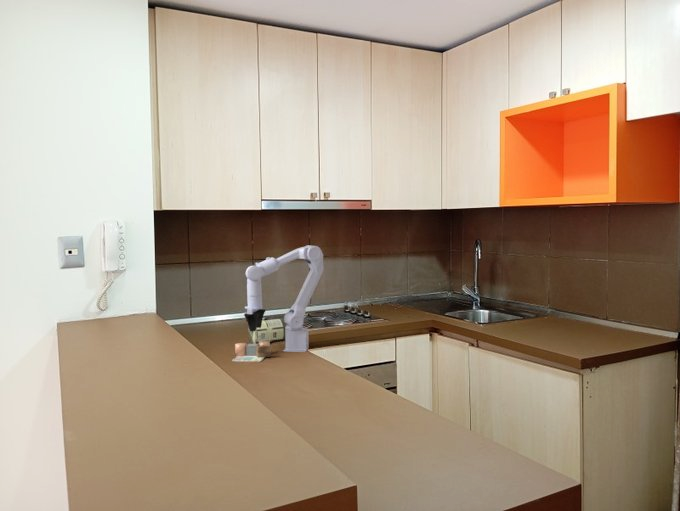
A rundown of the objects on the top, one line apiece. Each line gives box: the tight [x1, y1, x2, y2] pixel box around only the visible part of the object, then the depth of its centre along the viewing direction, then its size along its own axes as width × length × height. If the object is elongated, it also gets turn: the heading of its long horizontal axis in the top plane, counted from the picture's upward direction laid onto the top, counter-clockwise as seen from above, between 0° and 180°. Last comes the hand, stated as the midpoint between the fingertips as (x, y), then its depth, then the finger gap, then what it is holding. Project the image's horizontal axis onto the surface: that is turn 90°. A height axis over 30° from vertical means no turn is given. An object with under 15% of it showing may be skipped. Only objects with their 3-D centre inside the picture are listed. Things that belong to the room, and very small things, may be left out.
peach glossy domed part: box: [234, 342, 247, 357], centre depth 213 cm, size 4×4×4 cm
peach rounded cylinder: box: [259, 341, 271, 346], centre depth 216 cm, size 4×4×4 cm
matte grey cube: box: [246, 343, 259, 356], centre depth 214 cm, size 4×4×4 cm
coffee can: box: [247, 317, 286, 344], centre depth 238 cm, size 10×10×14 cm
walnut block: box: [256, 344, 272, 358], centre depth 211 cm, size 5×3×4 cm, turn 113°
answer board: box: [231, 356, 266, 363], centre depth 212 cm, size 11×14×1 cm
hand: (255, 329), depth 218 cm, fingers open, 7 cm apart
